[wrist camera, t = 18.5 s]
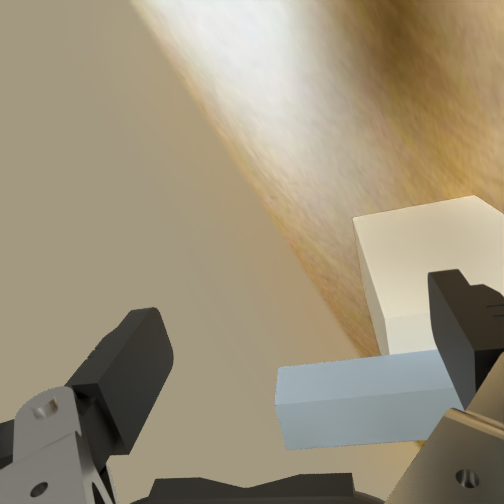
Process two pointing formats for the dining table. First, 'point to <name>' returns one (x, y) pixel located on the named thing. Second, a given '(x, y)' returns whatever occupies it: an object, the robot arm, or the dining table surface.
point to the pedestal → (424, 263)
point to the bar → (363, 400)
